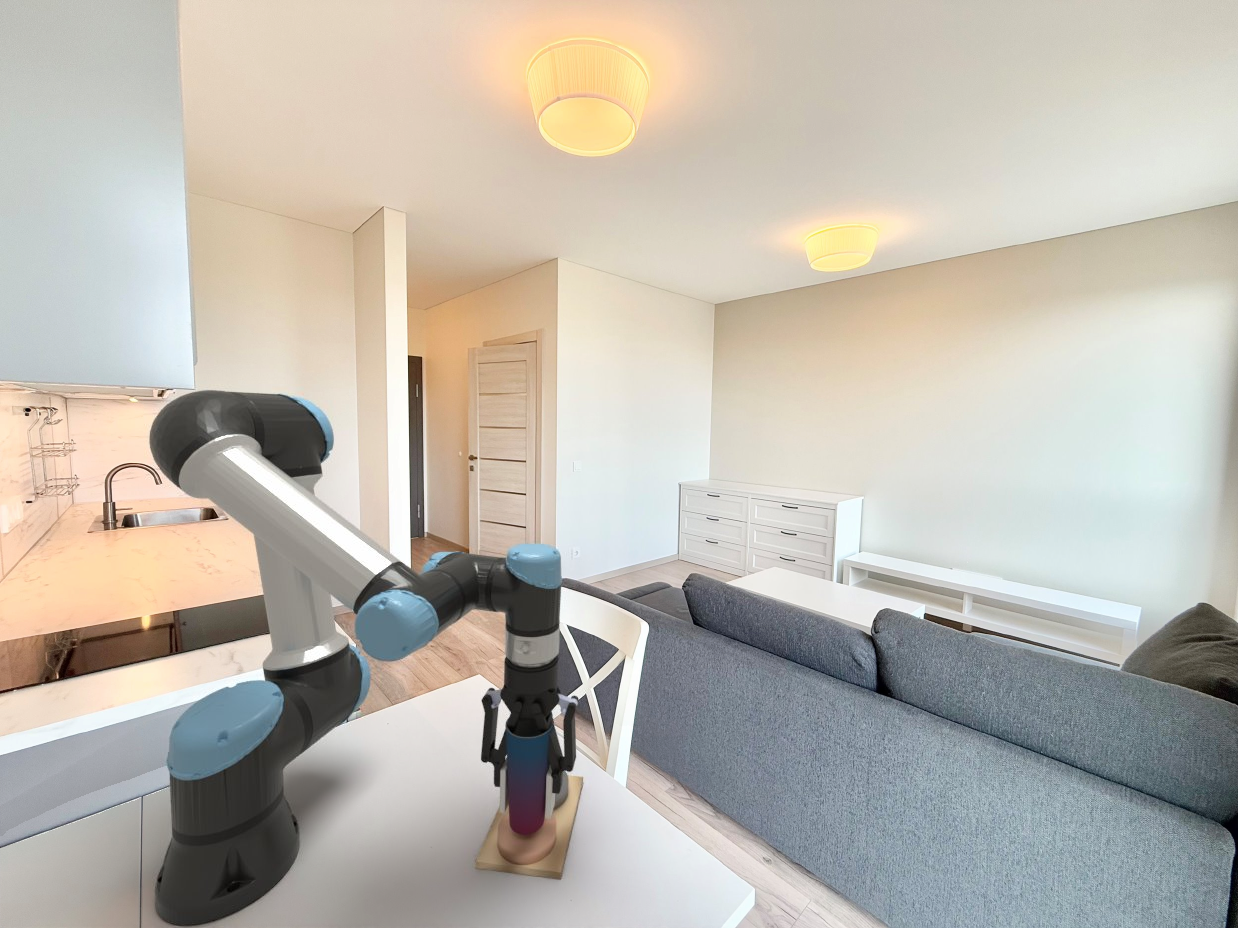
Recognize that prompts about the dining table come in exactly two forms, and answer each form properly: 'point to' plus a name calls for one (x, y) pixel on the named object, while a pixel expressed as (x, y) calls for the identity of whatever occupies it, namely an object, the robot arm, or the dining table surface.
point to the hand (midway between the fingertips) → (527, 807)
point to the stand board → (553, 858)
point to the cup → (527, 776)
